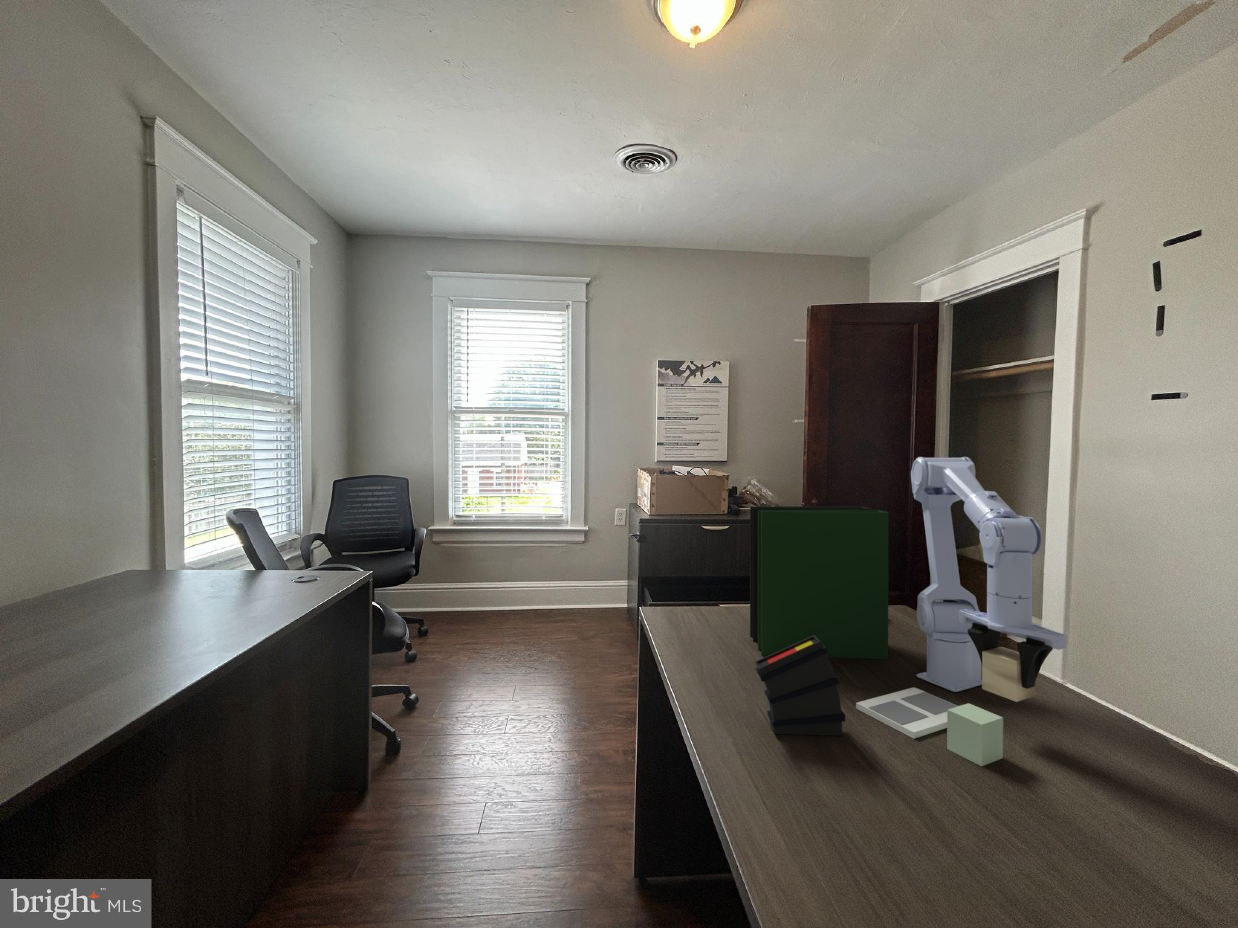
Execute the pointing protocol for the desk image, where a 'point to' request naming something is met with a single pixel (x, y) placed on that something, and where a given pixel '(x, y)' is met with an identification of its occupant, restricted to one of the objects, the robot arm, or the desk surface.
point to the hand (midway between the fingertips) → (1008, 679)
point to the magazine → (802, 690)
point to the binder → (820, 578)
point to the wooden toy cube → (1004, 674)
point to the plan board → (909, 711)
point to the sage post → (975, 734)
